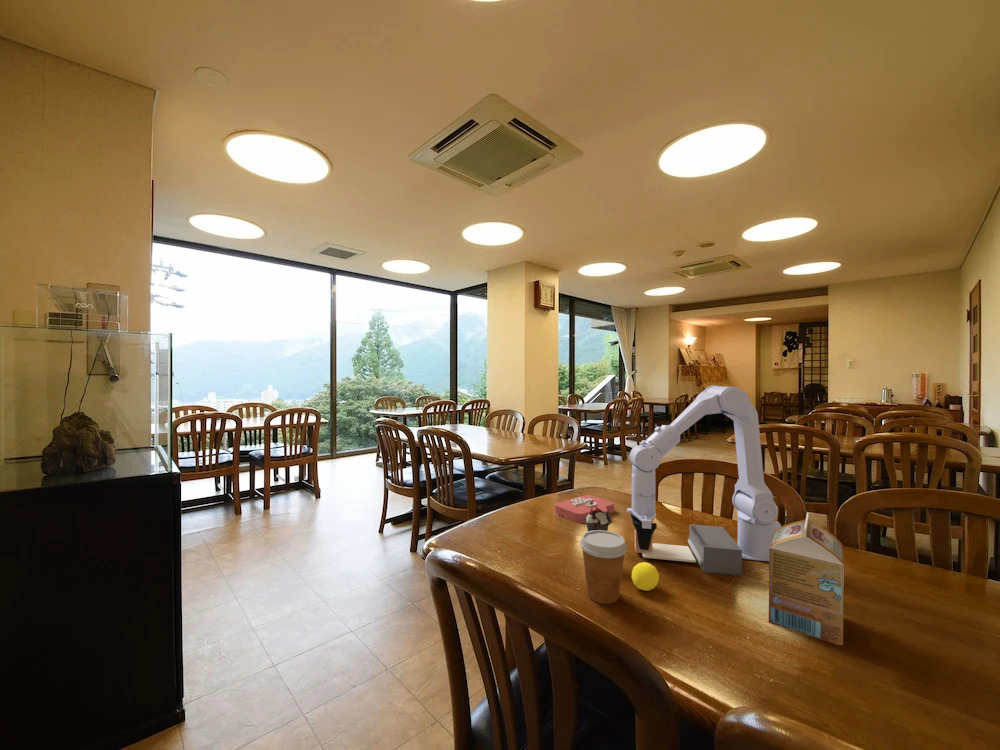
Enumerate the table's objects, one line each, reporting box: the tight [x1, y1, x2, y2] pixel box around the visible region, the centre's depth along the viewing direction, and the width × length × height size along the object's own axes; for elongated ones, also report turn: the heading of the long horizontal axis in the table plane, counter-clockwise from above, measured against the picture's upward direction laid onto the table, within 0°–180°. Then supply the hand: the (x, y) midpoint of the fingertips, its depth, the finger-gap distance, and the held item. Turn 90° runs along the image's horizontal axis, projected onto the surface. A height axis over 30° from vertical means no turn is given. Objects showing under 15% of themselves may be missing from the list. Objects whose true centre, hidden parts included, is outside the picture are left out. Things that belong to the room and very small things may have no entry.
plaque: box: [554, 494, 615, 524], centre depth 133 cm, size 18×4×15 cm
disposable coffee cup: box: [579, 530, 628, 605], centre depth 84 cm, size 10×10×12 cm
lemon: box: [631, 561, 660, 592], centre depth 87 cm, size 7×5×5 cm
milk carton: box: [768, 512, 845, 646], centre depth 76 cm, size 11×11×19 cm
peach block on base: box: [634, 528, 697, 563], centre depth 102 cm, size 14×8×5 cm, turn 77°
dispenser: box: [687, 523, 743, 577], centre depth 100 cm, size 9×14×6 cm, turn 167°
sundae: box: [584, 502, 612, 532], centre depth 99 cm, size 7×7×15 cm
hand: (643, 546), depth 104 cm, fingers closed on peach block on base, 3 cm apart
